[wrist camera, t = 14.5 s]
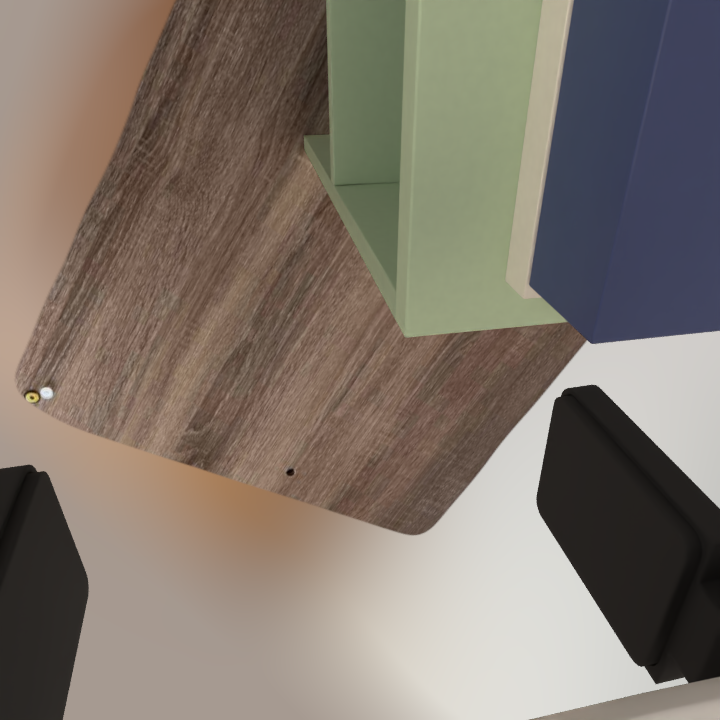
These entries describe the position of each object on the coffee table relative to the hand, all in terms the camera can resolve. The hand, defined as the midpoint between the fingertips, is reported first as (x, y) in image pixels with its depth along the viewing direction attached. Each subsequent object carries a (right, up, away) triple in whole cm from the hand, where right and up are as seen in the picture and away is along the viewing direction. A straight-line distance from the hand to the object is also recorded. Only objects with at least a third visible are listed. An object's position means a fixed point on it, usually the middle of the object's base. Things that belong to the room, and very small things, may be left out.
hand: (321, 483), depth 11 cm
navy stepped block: (+8, +11, +7) cm, 15 cm away
